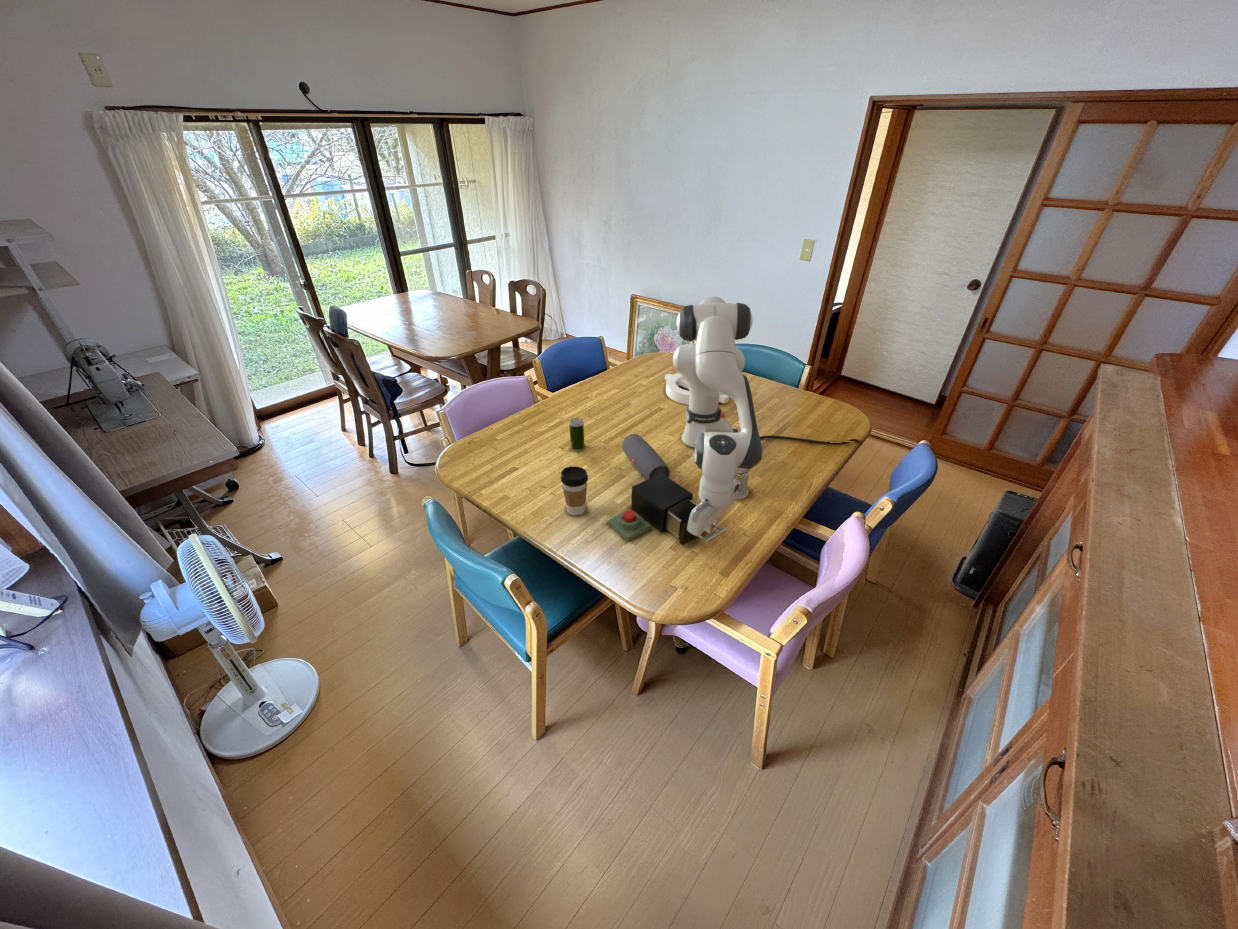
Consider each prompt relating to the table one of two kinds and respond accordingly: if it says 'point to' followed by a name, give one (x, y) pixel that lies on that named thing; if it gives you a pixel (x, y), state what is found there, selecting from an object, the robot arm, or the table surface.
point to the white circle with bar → (680, 394)
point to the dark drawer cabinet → (657, 498)
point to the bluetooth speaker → (644, 457)
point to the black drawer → (685, 522)
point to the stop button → (629, 516)
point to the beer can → (577, 434)
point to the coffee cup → (574, 489)
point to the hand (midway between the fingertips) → (709, 529)
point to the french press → (743, 486)
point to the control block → (629, 526)
